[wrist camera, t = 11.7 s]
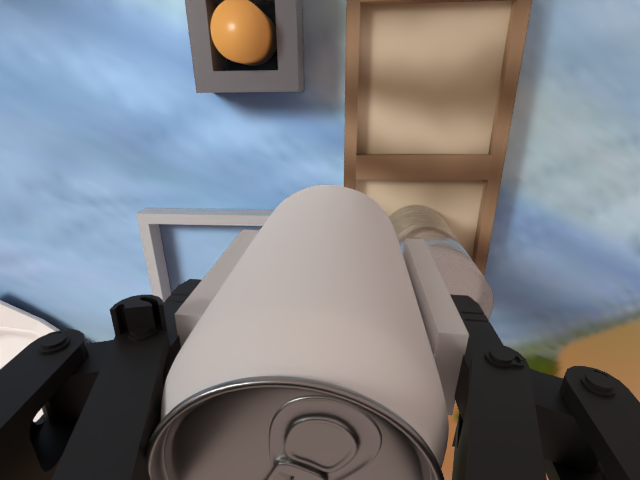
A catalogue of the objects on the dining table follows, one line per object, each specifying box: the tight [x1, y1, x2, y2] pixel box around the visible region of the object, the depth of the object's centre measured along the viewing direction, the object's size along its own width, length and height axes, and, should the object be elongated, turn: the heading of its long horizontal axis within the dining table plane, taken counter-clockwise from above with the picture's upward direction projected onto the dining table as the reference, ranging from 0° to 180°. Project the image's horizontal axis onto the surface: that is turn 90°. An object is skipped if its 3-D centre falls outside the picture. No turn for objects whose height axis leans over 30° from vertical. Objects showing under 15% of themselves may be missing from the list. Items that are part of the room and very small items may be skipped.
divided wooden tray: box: [344, 0, 532, 276], centre depth 32 cm, size 26×13×2 cm, turn 1°
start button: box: [210, 0, 277, 66], centre depth 28 cm, size 4×4×4 cm
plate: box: [0, 300, 59, 422], centre depth 46 cm, size 24×24×3 cm
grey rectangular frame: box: [136, 208, 274, 302], centre depth 38 cm, size 15×18×2 cm
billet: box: [389, 205, 493, 319], centre depth 29 cm, size 6×6×12 cm
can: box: [145, 185, 449, 480], centre depth 12 cm, size 6×6×12 cm
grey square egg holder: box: [185, 0, 304, 93], centre depth 28 cm, size 8×8×4 cm
